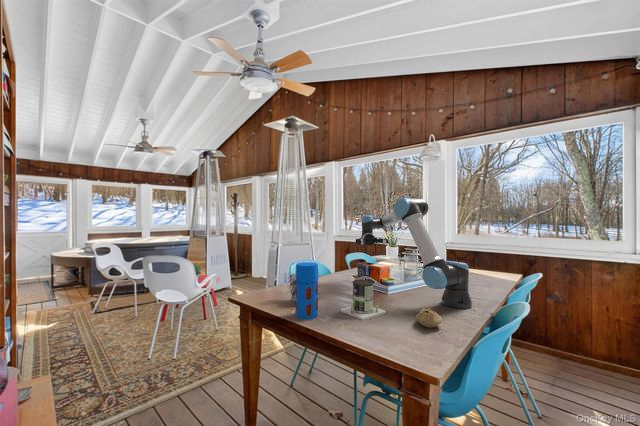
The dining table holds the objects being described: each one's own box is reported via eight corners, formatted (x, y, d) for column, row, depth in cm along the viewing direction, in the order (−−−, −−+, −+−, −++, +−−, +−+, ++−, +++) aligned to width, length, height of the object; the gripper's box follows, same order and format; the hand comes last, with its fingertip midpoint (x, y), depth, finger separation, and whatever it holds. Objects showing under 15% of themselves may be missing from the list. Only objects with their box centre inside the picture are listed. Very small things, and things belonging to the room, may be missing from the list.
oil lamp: (432, 318, 139) (432, 301, 139) (447, 331, 124) (447, 312, 124) (409, 318, 138) (409, 301, 138) (421, 331, 123) (421, 312, 123)
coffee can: (354, 313, 142) (354, 284, 142) (351, 306, 152) (351, 279, 152) (375, 313, 142) (375, 284, 142) (371, 306, 152) (371, 279, 152)
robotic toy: (304, 296, 174) (304, 271, 174) (314, 305, 158) (314, 277, 158) (283, 298, 170) (283, 272, 170) (291, 307, 153) (291, 279, 153)
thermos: (321, 313, 144) (321, 263, 144) (312, 321, 135) (312, 266, 134) (302, 310, 149) (302, 261, 149) (291, 317, 139) (291, 265, 139)
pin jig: (385, 312, 146) (385, 304, 146) (363, 320, 136) (363, 311, 136) (362, 304, 158) (362, 297, 158) (340, 311, 148) (340, 303, 148)
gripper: (388, 244, 195) (395, 249, 173) (350, 244, 195) (352, 248, 174) (388, 233, 194) (395, 236, 173) (350, 233, 195) (352, 236, 174)
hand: (374, 242), depth 174 cm, fingers open, 13 cm apart
